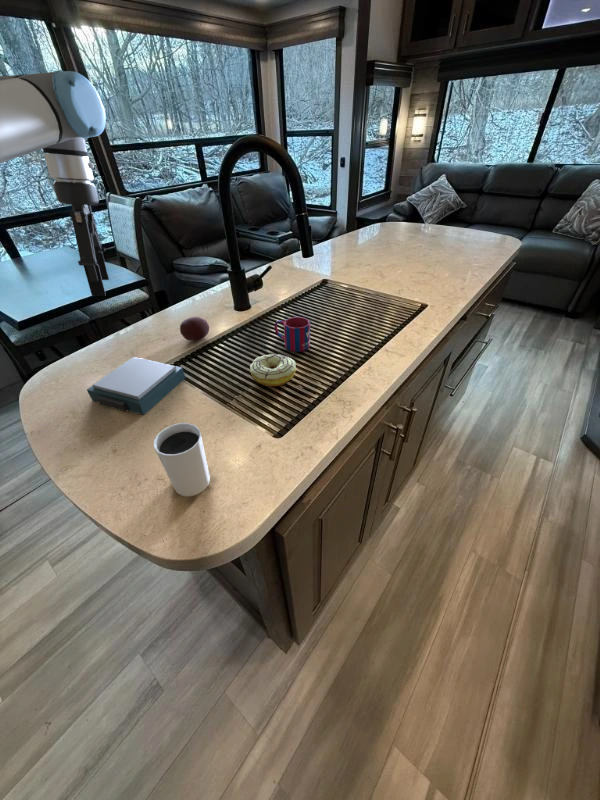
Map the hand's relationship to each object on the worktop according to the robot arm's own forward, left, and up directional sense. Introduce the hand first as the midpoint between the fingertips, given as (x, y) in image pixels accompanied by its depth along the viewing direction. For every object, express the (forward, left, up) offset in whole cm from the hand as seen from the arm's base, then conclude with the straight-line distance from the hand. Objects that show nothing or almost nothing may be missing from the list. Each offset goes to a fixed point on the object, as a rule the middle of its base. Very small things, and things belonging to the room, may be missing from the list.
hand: (101, 287), depth 79 cm
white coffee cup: (+9, -53, -17) cm, 56 cm away
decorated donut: (+32, -30, -17) cm, 47 cm away
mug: (+42, -18, -17) cm, 49 cm away
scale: (+3, -22, -16) cm, 28 cm away
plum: (+19, -3, -17) cm, 25 cm away
